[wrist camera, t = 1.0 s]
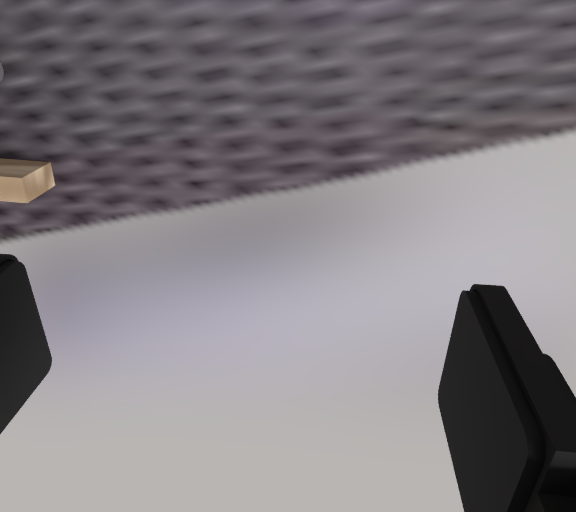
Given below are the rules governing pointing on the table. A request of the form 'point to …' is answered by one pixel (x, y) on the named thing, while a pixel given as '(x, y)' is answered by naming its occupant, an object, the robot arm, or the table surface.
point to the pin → (1, 72)
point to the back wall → (24, 179)
